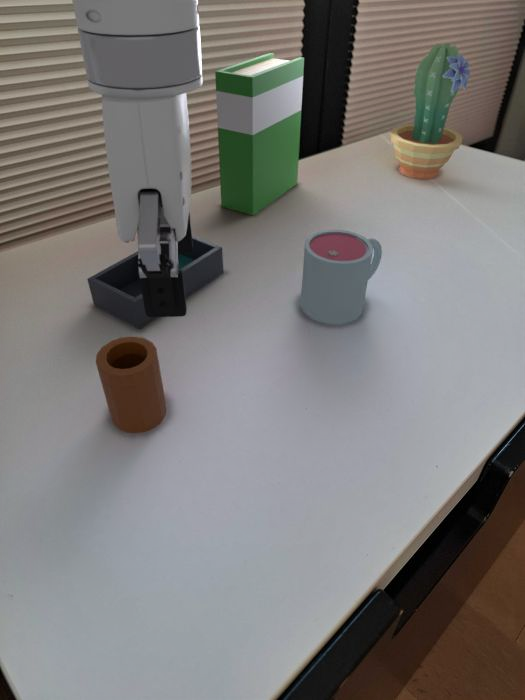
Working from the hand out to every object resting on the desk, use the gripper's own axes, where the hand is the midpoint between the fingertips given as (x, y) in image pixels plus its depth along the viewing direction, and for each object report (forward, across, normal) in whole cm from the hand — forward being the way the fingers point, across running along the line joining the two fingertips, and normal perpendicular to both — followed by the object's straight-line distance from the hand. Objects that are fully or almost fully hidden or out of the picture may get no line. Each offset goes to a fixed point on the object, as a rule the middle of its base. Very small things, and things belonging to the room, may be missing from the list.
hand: (171, 281), depth 44 cm
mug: (+20, -24, +22) cm, 38 cm away
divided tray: (+20, -28, -6) cm, 35 cm away
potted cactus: (+20, -74, +48) cm, 90 cm away
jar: (+20, -3, -6) cm, 21 cm away
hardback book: (+20, -62, +11) cm, 66 cm away
